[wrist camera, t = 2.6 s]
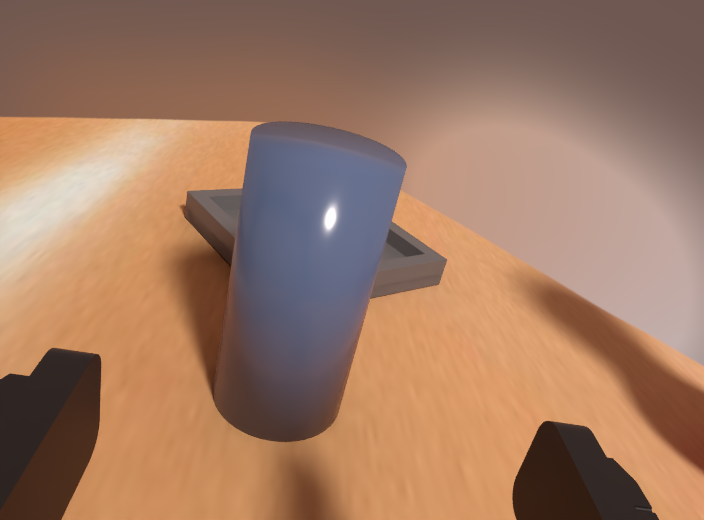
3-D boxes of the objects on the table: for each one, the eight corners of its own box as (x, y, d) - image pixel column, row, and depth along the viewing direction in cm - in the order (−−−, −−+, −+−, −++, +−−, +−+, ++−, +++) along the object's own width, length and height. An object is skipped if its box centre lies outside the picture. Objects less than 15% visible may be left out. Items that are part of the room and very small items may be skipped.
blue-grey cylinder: (251, 459, 21) (307, 180, 16) (191, 370, 25) (222, 119, 20) (364, 417, 25) (438, 175, 20) (297, 344, 28) (346, 123, 23)
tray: (278, 317, 30) (284, 287, 29) (184, 216, 38) (187, 191, 37) (438, 284, 37) (447, 259, 36) (332, 205, 45) (337, 184, 44)
